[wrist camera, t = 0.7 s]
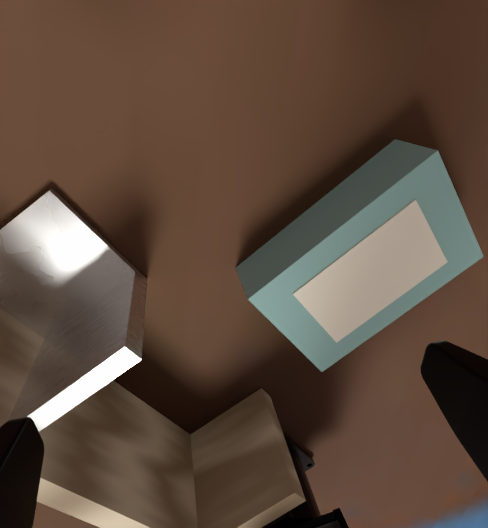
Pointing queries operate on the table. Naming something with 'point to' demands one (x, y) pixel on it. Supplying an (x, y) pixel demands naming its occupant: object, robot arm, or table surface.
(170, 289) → the table surface
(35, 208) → the bookend
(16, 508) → the robot arm
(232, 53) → the table surface
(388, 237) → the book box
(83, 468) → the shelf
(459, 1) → the table surface
